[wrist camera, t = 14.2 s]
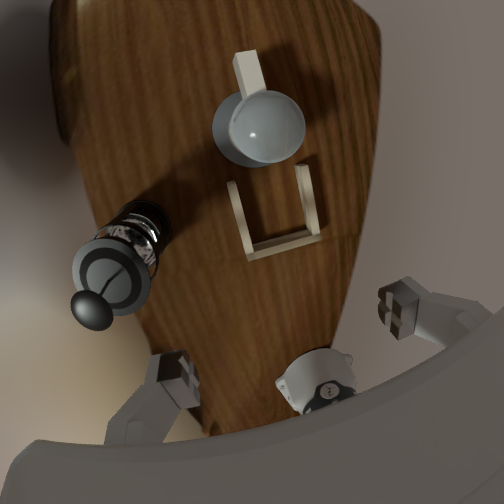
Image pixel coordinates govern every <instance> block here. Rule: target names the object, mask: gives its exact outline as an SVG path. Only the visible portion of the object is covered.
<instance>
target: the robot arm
mask: <svg viewBox="0 0 504 504" xmlns="http://www.w3.org/2000/svg"><path fill="white" fill-rule="evenodd" d="M378 297H379V298H380V299H381V301H380V302H379V304H378V313H379V317H380V319H381V321H382V322H383V323H384V325H387V326H389V327H390V332H391V333H392V334H393V335H394V336H395V338H396V339H397V340H401V339H402V338H405V337H407V336H409V335H411V334H413V333H414V334H415V335H417V336H420V337H422V338H425V339H427V340H429V341H432V342H434V343H436V344H439V345H441V346H443V347H446V348H445V349H444V350H442V351H441V352H439V353H438V354H436V355H434V356H433V357H431V358H429V359H427V360H426V361H424V362H422V363H420V364H419V365H417V366H415V367H413V368H411V369H409V370H407V371H406V372H404V373H402V374H400V375H398V376H396V377H394V378H392V379H390V380H388V381H386V382H384V383H382V384H379V385H377V386H375V387H373V388H371V389H368V390H367V391H364V392H362V393H359V394H357V392H356V391H355V388H356V386H357V383H358V382H357V379H356V377H355V375H354V373H353V371H352V369H351V364H352V361H353V358H352V356H351V355H349V354H341V353H340V352H338V351H337V350H334V349H329V348H323V349H317V350H313V351H310V352H308V353H306V354H304V355H302V356H300V357H299V358H297V359H296V360H295V361H293V362H292V363H291V364H290V366H289V367H288V368H287V370H286V372H285V373H284V374H283V375H282V376H281V377H279V378H278V379H277V380H276V381H275V384H276V386H277V387H278V389H279V390H280V391H281V393H282V394H283V396H284V397H285V398H286V400H287V401H288V402H289V404H290V405H291V406H292V408H293V409H294V410H295V411H299V413H300V414H301V415H300V416H297V417H293V418H290V419H287V420H283V421H280V422H276V423H273V424H269V425H265V426H261V427H257V428H253V429H248V430H244V431H239V432H235V433H230V434H224V435H219V436H213V437H207V438H202V439H194V440H186V441H177V442H169V443H163V440H164V439H165V437H166V435H167V434H168V432H169V430H170V428H171V427H172V425H173V423H174V421H175V420H176V418H177V416H178V414H179V413H180V411H181V410H180V409H185V408H191V407H196V406H200V393H199V391H198V389H197V387H198V386H199V376H198V372H197V369H196V367H195V365H194V363H192V362H190V361H189V354H188V352H187V351H186V350H185V349H182V350H177V351H172V352H167V353H162V354H157V355H152V356H150V357H149V360H148V366H147V371H146V377H145V383H144V385H141V386H140V387H139V388H138V389H137V390H136V391H135V393H134V394H133V395H132V396H131V397H130V398H129V399H128V400H127V401H126V403H125V404H124V405H123V406H122V407H121V409H119V411H118V412H117V413H116V414H115V415H114V416H113V417H112V418H111V420H110V421H109V422H108V426H107V431H106V436H105V442H104V445H92V444H75V443H63V442H54V441H47V440H35V441H34V442H32V443H31V444H30V445H28V446H27V447H26V448H25V449H24V450H23V451H22V452H21V453H20V454H19V455H18V456H17V457H16V458H15V459H14V460H13V462H12V464H11V465H10V468H9V470H8V473H7V476H6V479H5V482H4V485H3V489H2V492H1V496H0V504H504V307H502V308H501V309H500V310H499V311H498V312H496V313H495V314H494V315H493V314H492V313H491V312H490V311H489V310H487V309H486V308H485V307H484V306H482V305H481V304H480V303H479V302H477V301H472V300H468V299H463V298H459V297H454V296H449V295H444V294H440V293H435V292H432V293H430V292H429V291H427V290H426V289H425V288H424V287H422V286H421V285H420V284H419V283H417V282H416V281H415V280H413V279H412V278H411V277H409V276H407V277H405V278H402V279H400V280H399V281H396V282H394V283H391V284H389V285H387V286H385V287H382V288H379V291H378Z"/></svg>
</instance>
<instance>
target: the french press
mask: <svg viewBox="0 0 504 504" xmlns="http://www.w3.org/2000/svg"><path fill="white" fill-rule="evenodd" d="M136 209H146V210H149V211H151V212H152V213H154V214H155V215H156V216H157V217H158V218H159V220H160V222H161V225H162V229H161V231H160V233H159V231H158V229H157V228H156V226H155V225H154V224H153V223H152V222H151V221H150V220H149V219H147V218H145V217H144V216H141V215H138V214H131V212H132V211H133V210H136ZM105 228H107V230H106V232H105V236H104V237H100V238H97V239H96V237H97V235H98V234H99V232H100V231H102V230H103V229H105ZM170 236H171V224H170V221H169V218H168V216H167V214H166V213H165V212H164V210H163V209H162V208H161V207H159V206H158V205H157V204H155V203H153V202H150V201H147V200H135V201H132V202H130V203H128V204H126V205H125V206H124V207H123V208H122V209H121V210H120V211H119V212H118V214H117V215H116V216H115V217H114V219H113V220H112V221H111V222H109V223H108V224H107V225H105V226H104V227H102V228H101V229H100V230H99V231H98V232H97V233H96V234H95V235H94V237H93V238H92V240H91V241H89V242H88V243H86V244H85V245H83V247H82V248H81V249H80V250H79V251H78V252H77V254H76V256H75V258H74V262H73V269H72V272H73V280H74V283H75V286H76V288H77V290H78V292H77V293H75V294H74V295H73V297H72V299H71V311H72V313H73V315H74V317H75V318H76V320H77V321H78V322H79V323H80V324H81V325H83V326H84V327H86V328H88V329H90V330H94V331H103V330H105V329H107V328H108V327H110V326H111V324H112V322H113V316H124V315H128V314H131V313H134V312H136V311H137V310H139V309H140V308H141V307H142V306H143V305H144V304H145V302H146V300H147V298H148V296H149V293H150V288H151V282H152V281H153V279H154V277H155V275H156V272H157V269H158V265H159V257H160V255H161V254H162V253H163V251H164V249H165V247H166V246H167V244H168V242H169V239H170ZM155 263H156V269H155V272H154V274H153V275H152V277H151V278H150V274H149V271H148V268H150V267H152V266H153V265H154V264H155Z"/></svg>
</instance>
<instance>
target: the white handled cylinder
mask: <svg viewBox="0 0 504 504" xmlns="http://www.w3.org/2000/svg"><path fill="white" fill-rule="evenodd" d="M233 66H234V69H235V73H236V77H237V80H238V84H239V88H240V92H241V95H242V99H243V100H242V101H241V102H240V103H239V104H238V105H237V107H236V108H235V110H234V112H233V114H232V115H231V116H230V118H229V121H228V124H227V136H228V139H229V142H230V143H231V145H232V146H233V147H234V148H235V149H236V150H237V151H238V152H240V153H242V154H244V155H246V156H247V157H249V158H251V159H253V160H256V161H259V162H264V163H274V162H279V161H282V160H285V159H287V158H288V157H290V156H291V155H293V154H294V153H295V152H296V151H297V150H298V148H299V147H300V145H301V144H302V141H303V139H304V135H305V120H304V116H303V114H302V111H301V110H300V108H299V106H298V105H297V104H296V103H295V102H294V101H293V100H292V99H291V98H289V97H288V96H286V95H284V94H282V93H279V92H276V91H267V90H266V86H265V82H264V79H263V75H262V71H261V68H260V64H259V60H258V57H257V53H256V50H251V51H245V52H240V53H236V54H235V56H234V59H233Z"/></svg>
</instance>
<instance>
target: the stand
mask: <svg viewBox="0 0 504 504" xmlns="http://www.w3.org/2000/svg"><path fill="white" fill-rule="evenodd" d="M294 167H295V172H296V176H297V181H298V186H299V191H300V196H301V202H302V207H303V212H304V218H305V223H306V230H302V231H298V232H295V233H291V234H288V235H284V236H281V237H277V238H274V239H270V240H267V241H263V242H260V243H256V244H253V245H252V243H251V239H250V235H249V231H248V228H247V224H246V220H245V216H244V212H243V209H242V205H241V201H240V197H239V193H238V190H237V186H236V183H235V181H234V180H232V181H229V182H226V184H227V188H228V192H229V195H230V199H231V203H232V206H233V210H234V214H235V217H236V221H237V224H238V228H239V232H240V235H241V239H242V243H243V246H244V250H245V253H246V256H247V259H248V261H251V260H255V259H258V258H262V257H265V256H268V255H272V254H275V253H279V252H282V251H286V250H289V249H292V248H296V247H299V246H303V245H306V244H309V243H313V242H316V241H320V240H321V237H320V230H319V224H318V217H317V211H316V206H315V200H314V194H313V189H312V183H311V178H310V173H309V168H308V165H306V164H302V163H301V164H296V165H294Z"/></svg>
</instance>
